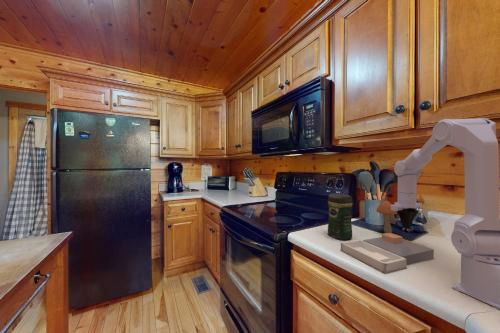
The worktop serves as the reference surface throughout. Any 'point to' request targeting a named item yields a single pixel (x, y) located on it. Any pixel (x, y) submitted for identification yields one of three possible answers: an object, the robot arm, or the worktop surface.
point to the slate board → (405, 250)
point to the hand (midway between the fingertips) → (406, 228)
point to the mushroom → (386, 215)
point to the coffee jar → (340, 216)
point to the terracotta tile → (392, 238)
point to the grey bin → (363, 248)
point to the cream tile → (379, 257)
